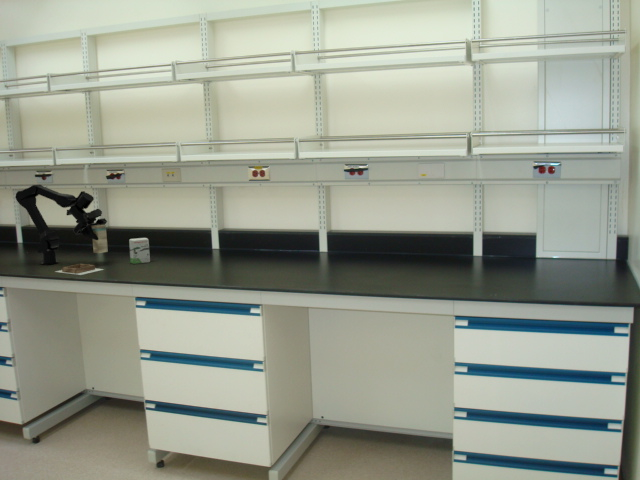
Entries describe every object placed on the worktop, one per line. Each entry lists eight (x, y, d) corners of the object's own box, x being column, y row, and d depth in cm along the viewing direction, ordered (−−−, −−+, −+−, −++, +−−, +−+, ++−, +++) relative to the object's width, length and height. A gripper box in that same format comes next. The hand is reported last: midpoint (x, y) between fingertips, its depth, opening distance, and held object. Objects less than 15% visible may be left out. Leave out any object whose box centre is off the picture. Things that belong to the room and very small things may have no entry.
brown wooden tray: (62, 271, 268) (61, 267, 268) (80, 267, 277) (80, 263, 277) (76, 273, 264) (76, 269, 263) (95, 269, 272) (94, 265, 272)
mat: (54, 272, 270) (54, 271, 269) (78, 267, 281) (78, 266, 281) (81, 275, 261) (81, 274, 261) (104, 269, 272) (104, 269, 272)
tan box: (93, 252, 281) (91, 225, 279) (101, 251, 285) (100, 224, 283) (99, 253, 279) (97, 226, 277) (107, 251, 283) (105, 225, 281)
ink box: (133, 264, 284) (131, 240, 283) (130, 262, 288) (128, 239, 287) (150, 262, 289) (149, 238, 287) (147, 260, 293) (145, 237, 291)
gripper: (76, 205, 271) (98, 229, 269) (102, 202, 288) (123, 224, 287) (63, 222, 274) (85, 246, 273) (90, 217, 292) (110, 240, 290)
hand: (101, 238), depth 280 cm, fingers closed on tan box, 6 cm apart
